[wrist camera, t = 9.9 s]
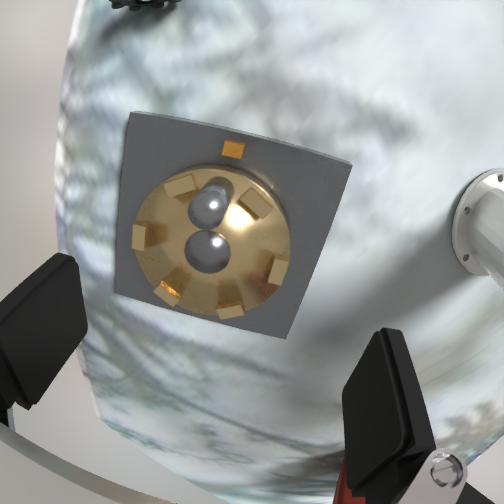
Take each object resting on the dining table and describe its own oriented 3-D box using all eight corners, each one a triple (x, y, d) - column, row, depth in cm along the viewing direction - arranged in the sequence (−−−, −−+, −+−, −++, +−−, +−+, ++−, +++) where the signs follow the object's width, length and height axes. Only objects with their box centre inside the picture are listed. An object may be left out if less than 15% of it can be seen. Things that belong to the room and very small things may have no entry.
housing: (348, 161, 27) (355, 167, 25) (285, 329, 36) (285, 345, 34) (137, 110, 26) (125, 112, 24) (121, 284, 36) (112, 297, 33)
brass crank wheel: (268, 314, 33) (264, 366, 26) (140, 281, 33) (110, 325, 26) (308, 186, 27) (317, 218, 20) (151, 150, 26) (111, 170, 20)
